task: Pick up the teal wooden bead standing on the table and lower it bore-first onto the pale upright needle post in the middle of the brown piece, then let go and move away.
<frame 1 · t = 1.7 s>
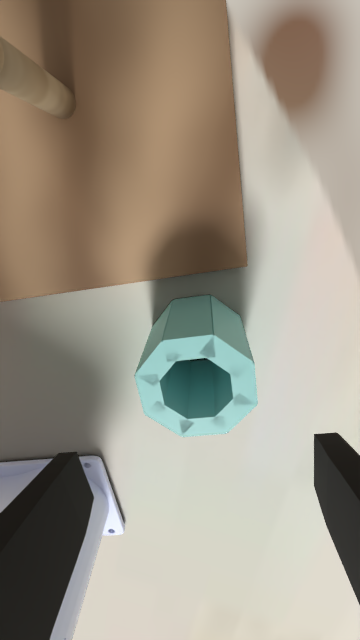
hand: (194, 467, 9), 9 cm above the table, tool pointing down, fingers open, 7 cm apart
teal bead: (197, 337, 18), on the table
brown piece: (70, 108, 14), on the table
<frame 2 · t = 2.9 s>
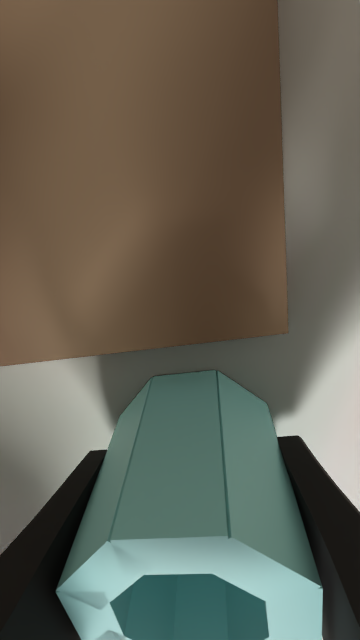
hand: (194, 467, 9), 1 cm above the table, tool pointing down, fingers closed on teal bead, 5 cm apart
teal bead: (195, 434, 11), on the table, touching gripper
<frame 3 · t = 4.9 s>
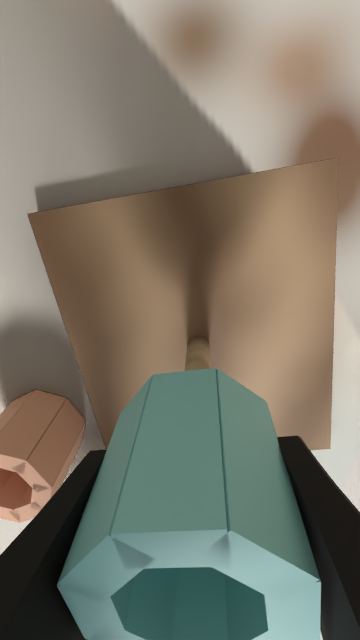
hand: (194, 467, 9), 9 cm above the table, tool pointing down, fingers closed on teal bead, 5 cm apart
teal bead: (195, 432, 11), point 7 cm above the table, touching gripper
brown piece: (198, 338, 18), on the table
terracotta bead: (47, 422, 21), on the table
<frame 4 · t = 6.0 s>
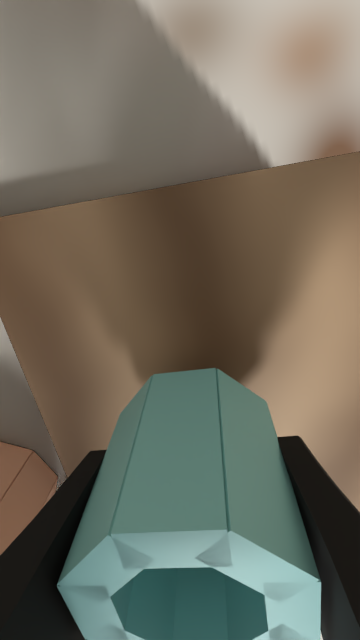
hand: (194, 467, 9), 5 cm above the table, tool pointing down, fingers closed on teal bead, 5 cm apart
teal bead: (195, 432, 11), point 3 cm above the table, touching gripper
brown piece: (197, 382, 14), on the table
terracotta bead: (11, 478, 17), on the table
when the fingers open (3 cm above the table, at t = 6.8 s): teal bead stays where it is, resting on brown piece.
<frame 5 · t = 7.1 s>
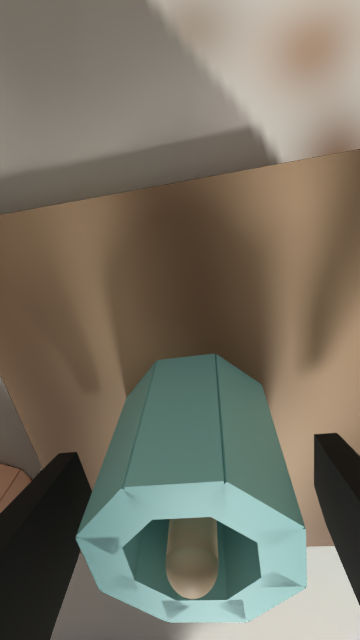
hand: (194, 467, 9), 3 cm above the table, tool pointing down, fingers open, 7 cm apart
teal bead: (196, 414, 12), point 1 cm above the table, touching brown piece
brown piece: (196, 398, 12), on the table
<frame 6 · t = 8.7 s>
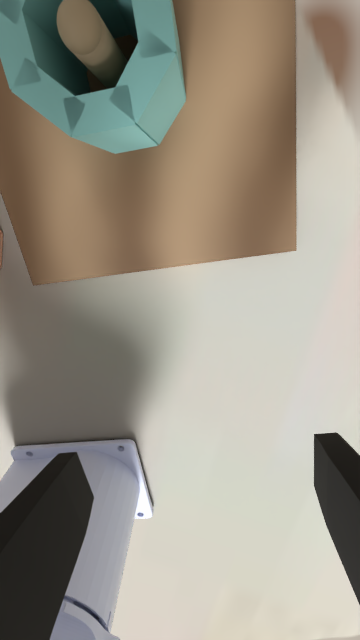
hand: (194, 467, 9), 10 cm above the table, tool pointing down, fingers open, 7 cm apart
teal bead: (124, 83, 13), point 1 cm above the table, touching brown piece
brown piece: (129, 90, 14), on the table
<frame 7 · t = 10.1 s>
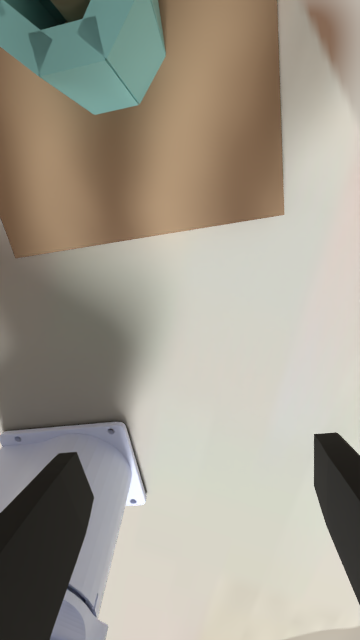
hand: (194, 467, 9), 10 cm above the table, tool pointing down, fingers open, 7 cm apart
teal bead: (101, 38, 13), point 1 cm above the table, touching brown piece
brown piece: (108, 49, 13), on the table
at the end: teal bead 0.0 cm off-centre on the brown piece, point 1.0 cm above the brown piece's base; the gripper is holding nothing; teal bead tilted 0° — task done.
